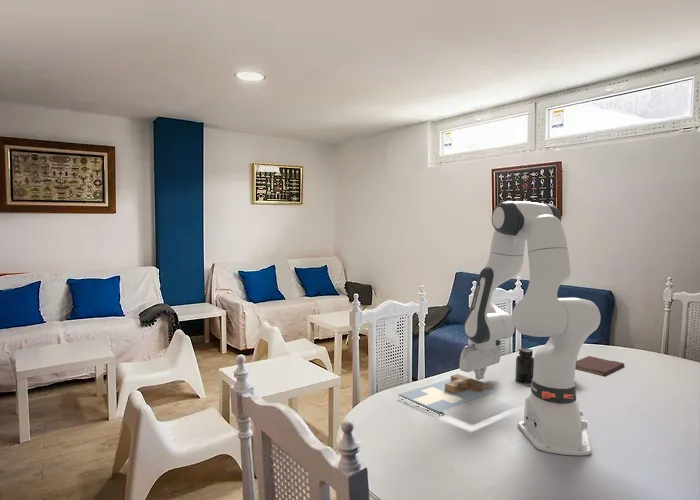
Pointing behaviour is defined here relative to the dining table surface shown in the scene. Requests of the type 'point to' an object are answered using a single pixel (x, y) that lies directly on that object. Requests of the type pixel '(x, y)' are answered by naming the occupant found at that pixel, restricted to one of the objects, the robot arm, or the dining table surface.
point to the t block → (463, 384)
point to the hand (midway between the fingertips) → (479, 378)
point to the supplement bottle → (524, 366)
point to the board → (440, 396)
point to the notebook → (598, 365)
